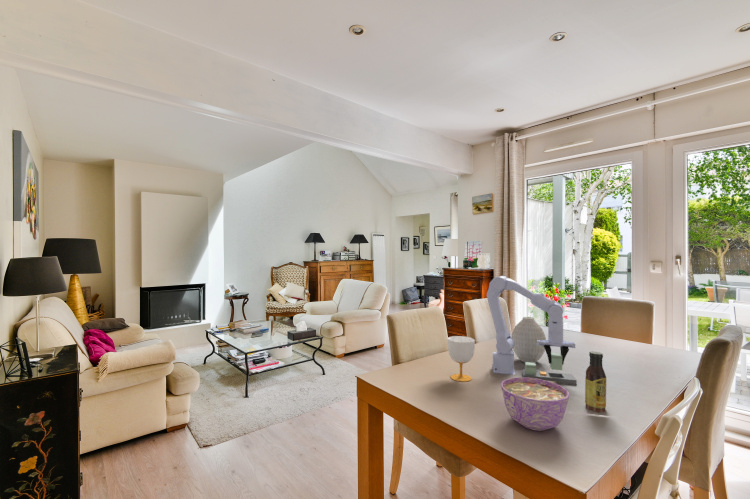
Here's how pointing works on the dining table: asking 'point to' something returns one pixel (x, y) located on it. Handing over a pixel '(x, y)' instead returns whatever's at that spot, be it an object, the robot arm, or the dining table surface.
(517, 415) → the bowl of food
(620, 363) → the dining table surface
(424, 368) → the dining table surface
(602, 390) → the sauce bottle
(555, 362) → the plug
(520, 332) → the vase
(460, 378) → the cup
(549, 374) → the gray fixture base
